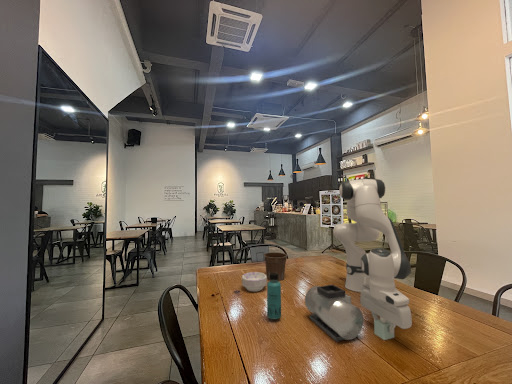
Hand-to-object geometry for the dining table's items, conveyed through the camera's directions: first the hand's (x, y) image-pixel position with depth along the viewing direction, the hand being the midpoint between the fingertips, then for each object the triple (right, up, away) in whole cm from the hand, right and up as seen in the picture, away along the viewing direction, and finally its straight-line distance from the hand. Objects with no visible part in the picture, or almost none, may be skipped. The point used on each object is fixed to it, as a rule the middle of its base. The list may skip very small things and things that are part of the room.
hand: (384, 328), depth 86 cm
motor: (-19, -3, +8) cm, 21 cm away
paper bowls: (-51, -6, +49) cm, 71 cm away
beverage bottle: (-42, -4, +13) cm, 44 cm away
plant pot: (-36, -7, +68) cm, 77 cm away
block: (0, -3, 0) cm, 3 cm away
